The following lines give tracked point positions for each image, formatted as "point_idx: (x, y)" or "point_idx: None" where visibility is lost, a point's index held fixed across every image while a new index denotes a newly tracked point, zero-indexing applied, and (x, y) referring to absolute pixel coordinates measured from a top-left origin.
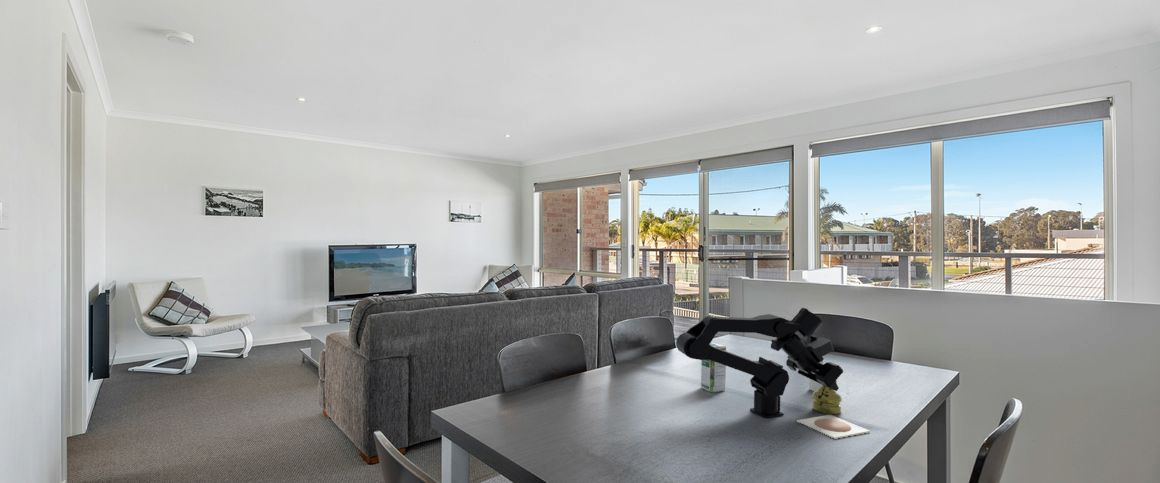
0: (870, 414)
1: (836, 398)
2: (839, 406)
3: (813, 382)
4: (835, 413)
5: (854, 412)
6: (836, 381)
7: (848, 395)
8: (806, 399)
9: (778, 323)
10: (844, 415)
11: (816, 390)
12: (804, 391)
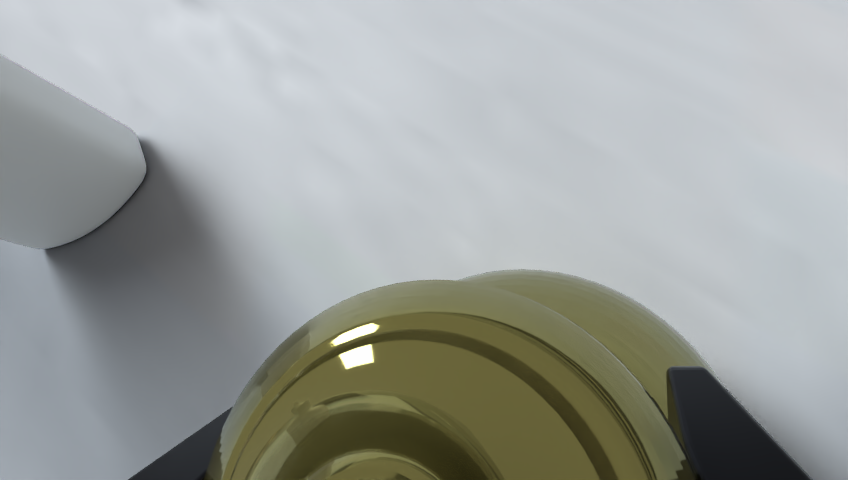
0: (704, 49)
1: None
2: None
3: (3, 213)
4: None
5: (635, 179)
6: (624, 366)
7: (226, 9)
8: None
9: None
10: (737, 354)
11: (92, 220)
12: (60, 317)
